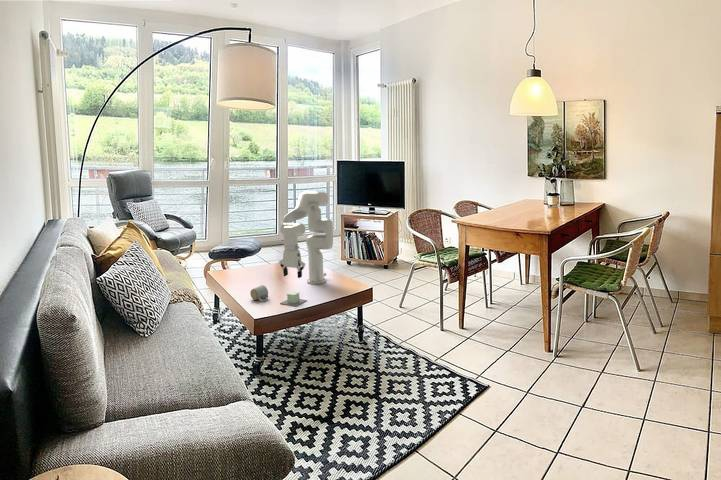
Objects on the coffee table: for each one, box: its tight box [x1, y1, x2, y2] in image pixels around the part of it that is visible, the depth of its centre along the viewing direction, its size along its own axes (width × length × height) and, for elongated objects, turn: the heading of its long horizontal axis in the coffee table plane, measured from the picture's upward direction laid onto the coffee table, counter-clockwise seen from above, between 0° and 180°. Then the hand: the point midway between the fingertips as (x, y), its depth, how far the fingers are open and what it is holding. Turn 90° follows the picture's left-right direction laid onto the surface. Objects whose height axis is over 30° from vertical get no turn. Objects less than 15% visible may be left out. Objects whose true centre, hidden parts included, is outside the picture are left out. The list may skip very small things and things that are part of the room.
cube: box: [286, 291, 301, 303], centre depth 272 cm, size 5×5×5 cm
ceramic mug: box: [250, 284, 269, 302], centre depth 278 cm, size 11×8×8 cm
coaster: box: [279, 298, 308, 307], centre depth 272 cm, size 11×11×1 cm
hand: (292, 276), depth 270 cm, fingers open, 9 cm apart
